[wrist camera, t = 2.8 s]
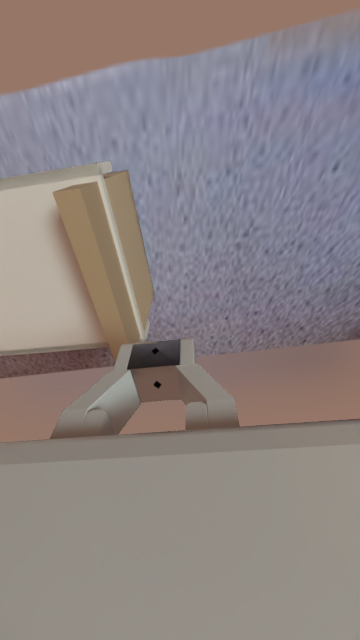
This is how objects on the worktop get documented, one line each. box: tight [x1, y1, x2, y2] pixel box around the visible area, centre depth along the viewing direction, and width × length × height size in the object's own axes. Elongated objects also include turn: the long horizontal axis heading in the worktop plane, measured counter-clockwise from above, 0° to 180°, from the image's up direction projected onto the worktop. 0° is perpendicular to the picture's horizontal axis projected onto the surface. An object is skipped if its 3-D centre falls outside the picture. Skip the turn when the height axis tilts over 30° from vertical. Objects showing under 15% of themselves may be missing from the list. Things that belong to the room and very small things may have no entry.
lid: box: [0, 161, 150, 362], centre depth 20 cm, size 18×14×6 cm
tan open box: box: [103, 170, 154, 330], centre depth 24 cm, size 18×12×7 cm, turn 98°
